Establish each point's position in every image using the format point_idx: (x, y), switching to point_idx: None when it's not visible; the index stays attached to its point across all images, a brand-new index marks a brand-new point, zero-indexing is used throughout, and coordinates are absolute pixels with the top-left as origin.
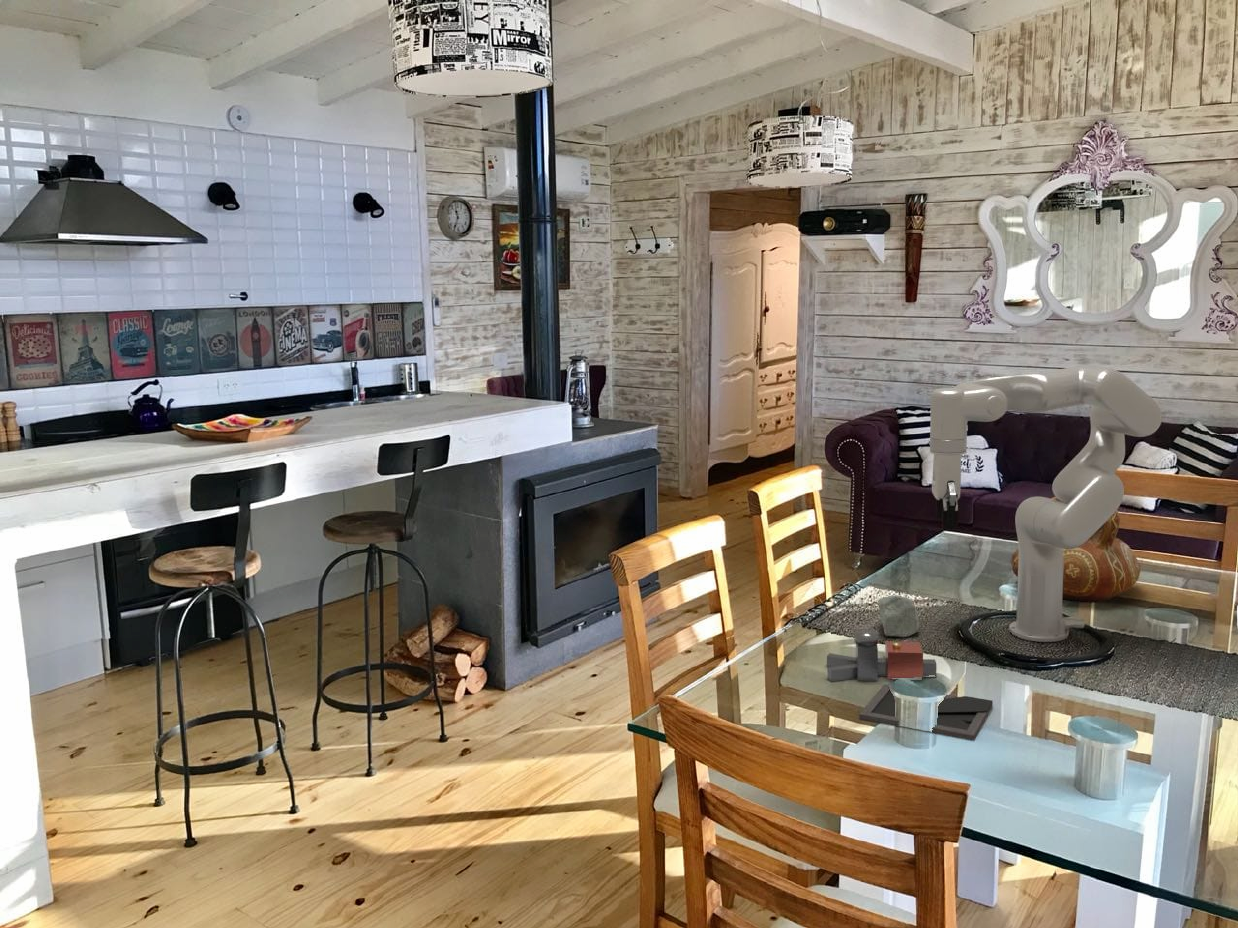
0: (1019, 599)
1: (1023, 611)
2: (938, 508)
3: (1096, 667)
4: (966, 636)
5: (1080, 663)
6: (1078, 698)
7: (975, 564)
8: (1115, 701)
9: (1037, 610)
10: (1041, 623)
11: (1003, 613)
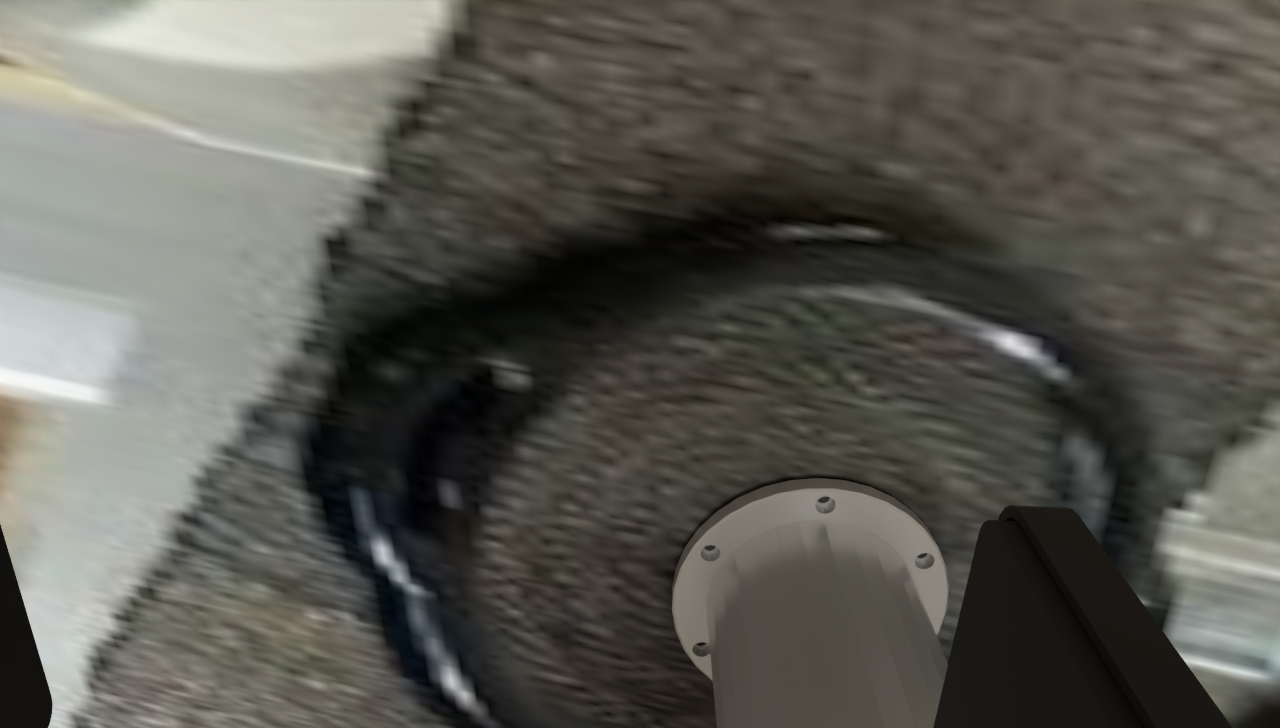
0: (824, 634)
1: (775, 605)
2: (1078, 709)
3: (382, 690)
4: (777, 255)
5: (420, 651)
6: None
7: None
8: None
9: (721, 670)
10: (712, 636)
11: (1125, 508)
